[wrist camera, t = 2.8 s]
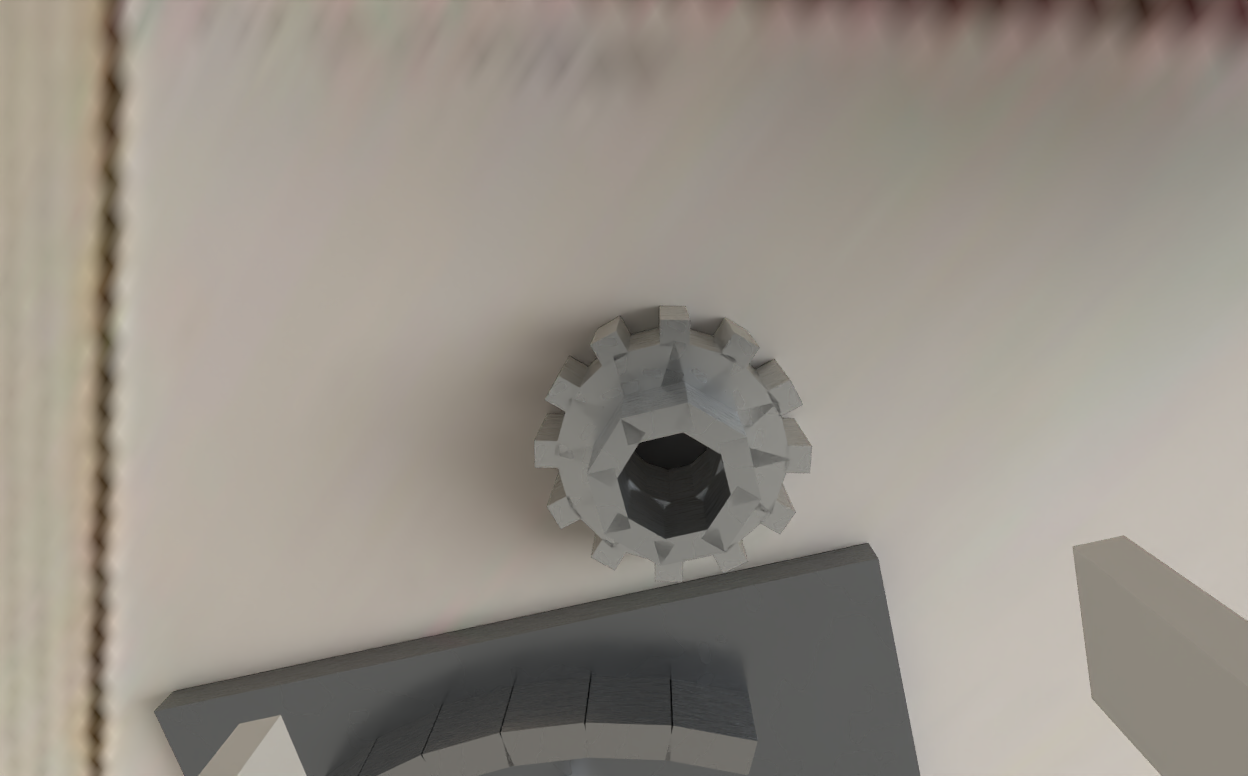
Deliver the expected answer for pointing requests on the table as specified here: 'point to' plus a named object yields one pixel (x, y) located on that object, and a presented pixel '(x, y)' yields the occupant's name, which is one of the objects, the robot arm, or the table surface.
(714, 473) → the gear
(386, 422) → the table surface
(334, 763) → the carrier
